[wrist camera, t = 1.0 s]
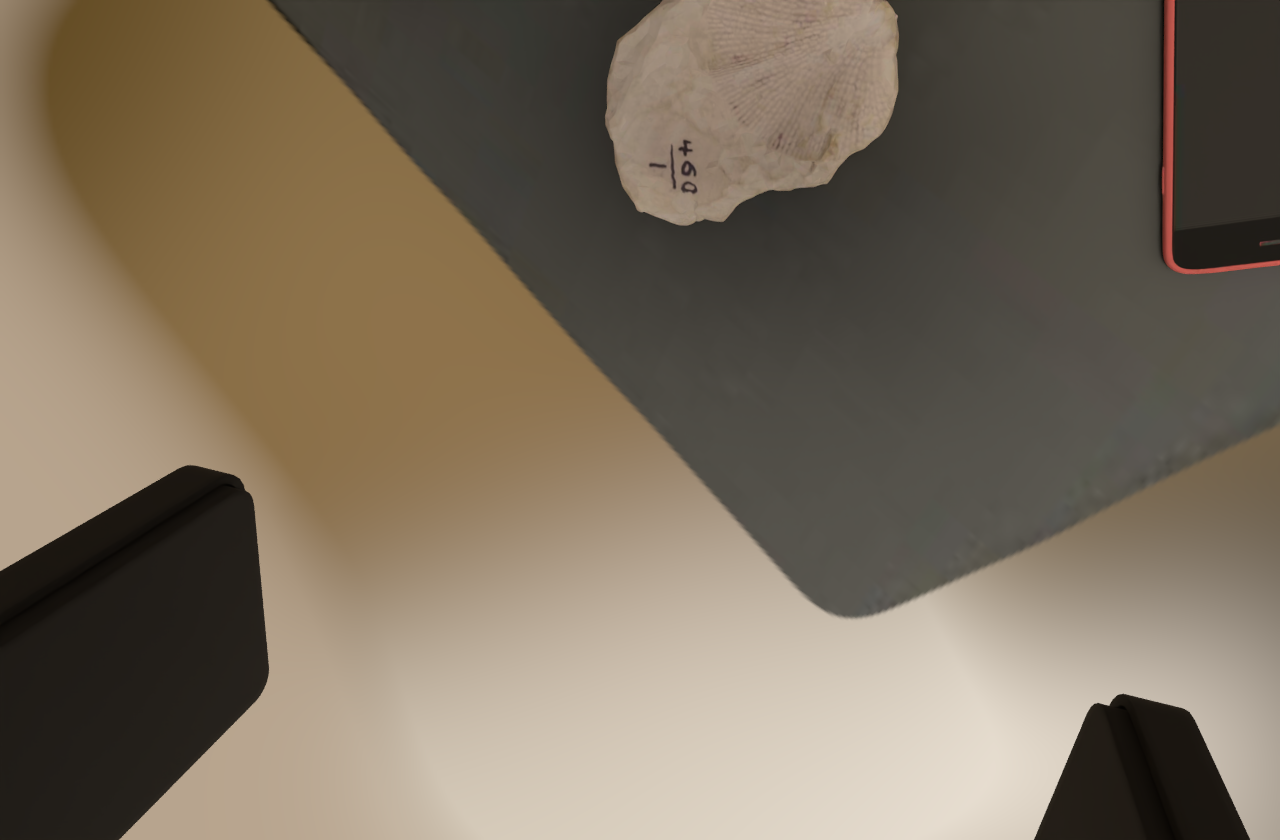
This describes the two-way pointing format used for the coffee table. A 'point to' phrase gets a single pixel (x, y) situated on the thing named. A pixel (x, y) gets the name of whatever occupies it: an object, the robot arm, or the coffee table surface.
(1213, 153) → the smartphone
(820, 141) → the fossil
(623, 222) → the coffee table surface
